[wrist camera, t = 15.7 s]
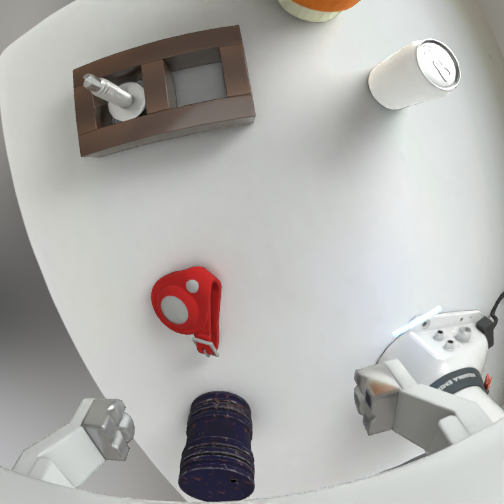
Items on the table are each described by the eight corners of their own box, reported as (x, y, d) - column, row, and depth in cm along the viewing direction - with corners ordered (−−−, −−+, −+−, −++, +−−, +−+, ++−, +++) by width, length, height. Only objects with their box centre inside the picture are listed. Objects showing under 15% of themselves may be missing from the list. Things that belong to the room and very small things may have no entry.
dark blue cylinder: (218, 439, 47) (214, 508, 32) (177, 408, 45) (161, 480, 30) (264, 415, 45) (271, 489, 31) (223, 380, 43) (218, 458, 29)
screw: (135, 130, 34) (107, 111, 33) (158, 97, 33) (130, 79, 32) (87, 115, 21) (53, 91, 20) (121, 67, 20) (84, 46, 19)
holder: (90, 79, 32) (72, 69, 27) (239, 41, 31) (238, 24, 27) (99, 157, 34) (80, 157, 30) (253, 123, 34) (255, 116, 29)
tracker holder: (135, 309, 38) (168, 256, 34) (154, 295, 43) (187, 245, 38) (206, 371, 38) (251, 328, 34) (219, 352, 42) (262, 309, 38)
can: (385, 56, 32) (432, 24, 20) (417, 91, 33) (472, 73, 22) (357, 83, 33) (401, 54, 22) (392, 120, 34) (445, 107, 23)
